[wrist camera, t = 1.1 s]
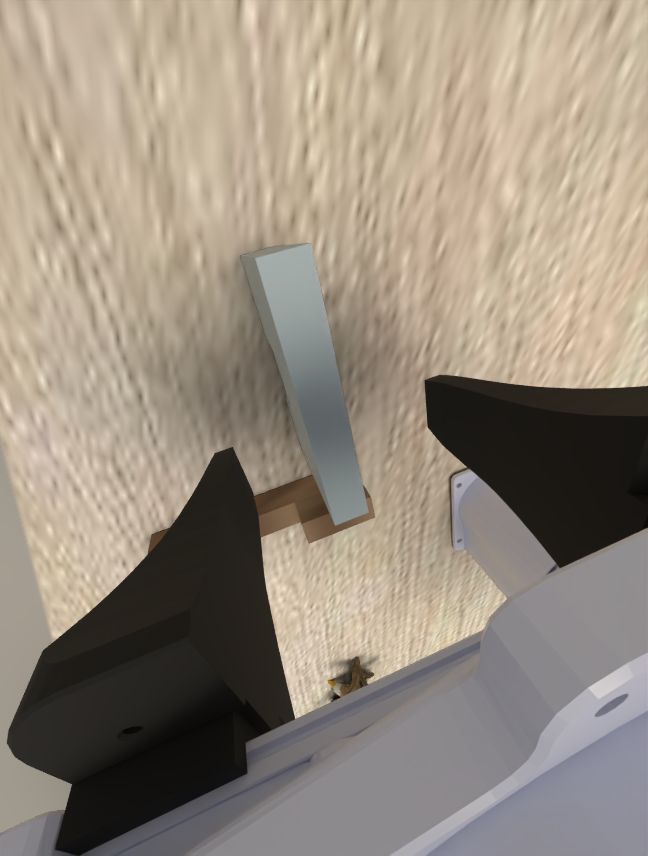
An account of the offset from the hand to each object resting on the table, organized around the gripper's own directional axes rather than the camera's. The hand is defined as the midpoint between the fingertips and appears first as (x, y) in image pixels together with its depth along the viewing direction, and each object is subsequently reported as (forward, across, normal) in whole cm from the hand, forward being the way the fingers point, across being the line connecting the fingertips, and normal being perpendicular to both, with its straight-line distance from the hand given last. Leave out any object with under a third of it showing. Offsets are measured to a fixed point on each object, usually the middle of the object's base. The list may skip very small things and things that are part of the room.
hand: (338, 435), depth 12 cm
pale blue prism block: (+9, 0, 0) cm, 9 cm away
